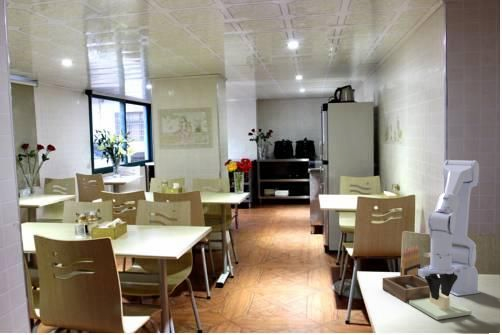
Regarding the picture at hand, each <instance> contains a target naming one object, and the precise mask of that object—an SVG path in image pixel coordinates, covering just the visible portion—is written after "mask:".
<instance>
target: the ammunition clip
mask: <svg viewBox="0 0 502 335" xmlns="http://www.w3.org/2000/svg"><path fill="white" fill-rule="evenodd" d="M420 257H421V256H420V247H419V245H418V244H417V245H413V246H411V247H409V248H408V247H406V249H405V248H403V251H402V257H401V267H400V270H399V271H400V272H399V273H400V274H399V276H404V275H415V276H417V277H419V278H421V276H418V269H421V261H420V259H421V258H420Z"/></svg>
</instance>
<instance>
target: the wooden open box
mask: <svg viewBox="0 0 502 335" xmlns="http://www.w3.org/2000/svg"><path fill="white" fill-rule="evenodd" d="M382 289H383V291H385V292H387V293H388V294H389V295H391V296H393V297H395V298H396V299H398V300H399V301H401V302H404V303H409V300H416V299H423V298H430V288H429V285H428V283H427V281H426V279H423V278H422V277H417V276H415V275H404V276H400V275H396V276H389V277H382Z"/></svg>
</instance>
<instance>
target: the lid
mask: <svg viewBox="0 0 502 335" xmlns="http://www.w3.org/2000/svg"><path fill="white" fill-rule="evenodd" d="M450 298H451V297H450V296H449V297H448V296H446V295H444V294H442V293H441V291H439V299H438V300H435V299H434V298H432V296H431V292H430V298H423V299H416V300H409V302H408V304H410V305H411V306H413V307H414V308H416V309H418V310H420V311H421V312H423V313H425V314H426V315H428V316H430V317H432V318H433V319H435V320H437V321H438V320H444V319H451V318H456V317H463V316H469V315H472V312H473V311H472V310H470V309H469V308H467V307H465V306H463V305H461V304H459V303H457V302H454V301H453V300H451V299H450Z"/></svg>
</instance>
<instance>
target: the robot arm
mask: <svg viewBox="0 0 502 335" xmlns="http://www.w3.org/2000/svg"><path fill="white" fill-rule="evenodd" d="M442 175H443V177H444V179H445V180H446V183H445V187H444V193H441V194H440V195H439V197H438V199H437V202H436V205H435V208H434V211H433V212H432V213H430V214H429V216H428V219H427V220H428V221H427V227H428V228H427V229H428V235H429V238H430V256H429V257H430V258H429V259H430V260H429V261H430V262H429V265H428V266H424V267H420V269H418V276H420V278H424V280H425V281H427V283H428V285H429V288H430V292H431V296H432V298H434V299H435V300H438V299H439V292H440V293H442V294H444V295H446V296H448V297H450V294H451V295H453V296H456V297H460V296H467V295H474V294H475V295H476V294H479V293H481V292H480V291H479V290H478V287H479V286H478V285H479V284H478V283H479V273H478V270H477V269H478V268H477V267H476V266H475V265H476V261H477V245H476V242H474V240H472V238H470V237H469V236H468V232H469V231H468V229H469V218H470V217H469V216H470V215H469V214H470V202H471V192H472V189H473V188H474V187H477V186H478V184H479V177H480V176H479V175H480V165H479V162H478V161H477V160H464V159H463V160H462V159H461V160H458V159H454V160H453V159H452V160H451V159H446V160H445V161H444V163H443V166H442Z"/></svg>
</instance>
